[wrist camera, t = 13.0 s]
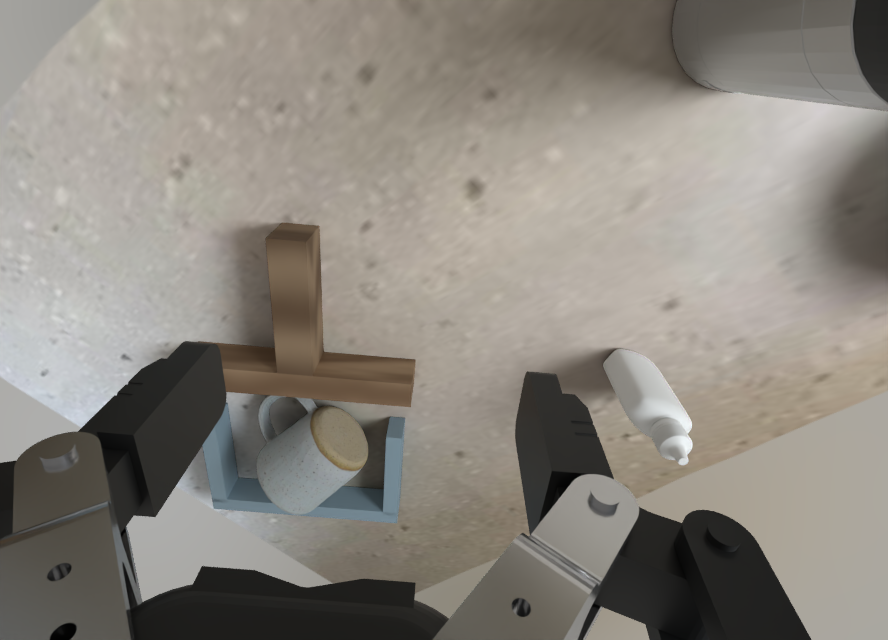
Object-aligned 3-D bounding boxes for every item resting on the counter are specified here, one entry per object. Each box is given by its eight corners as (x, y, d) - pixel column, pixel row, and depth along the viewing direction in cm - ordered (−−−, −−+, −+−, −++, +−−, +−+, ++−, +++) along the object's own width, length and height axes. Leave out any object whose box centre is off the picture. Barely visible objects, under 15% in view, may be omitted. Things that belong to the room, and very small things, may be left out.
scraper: (176, 212, 40) (149, 228, 36) (424, 235, 40) (420, 252, 37) (202, 362, 47) (181, 387, 43) (414, 380, 47) (410, 407, 44)
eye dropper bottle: (619, 399, 47) (665, 497, 37) (597, 355, 45) (640, 446, 35) (663, 380, 46) (725, 476, 36) (643, 335, 44) (702, 422, 34)
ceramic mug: (379, 431, 50) (366, 488, 43) (327, 471, 53) (307, 531, 46) (298, 364, 47) (270, 416, 40) (246, 411, 49) (211, 467, 43)
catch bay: (212, 401, 49) (197, 421, 46) (405, 418, 49) (402, 438, 46) (225, 486, 54) (213, 508, 51) (399, 500, 54) (396, 523, 52)
